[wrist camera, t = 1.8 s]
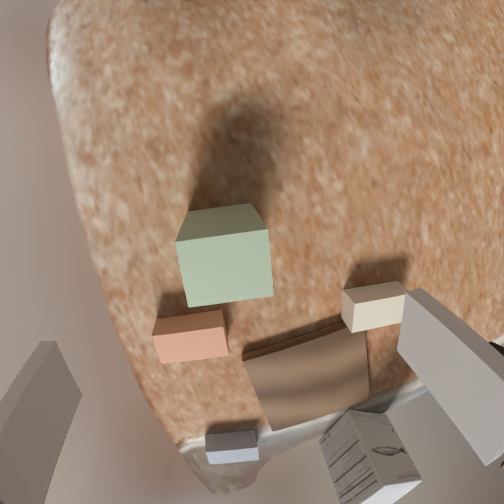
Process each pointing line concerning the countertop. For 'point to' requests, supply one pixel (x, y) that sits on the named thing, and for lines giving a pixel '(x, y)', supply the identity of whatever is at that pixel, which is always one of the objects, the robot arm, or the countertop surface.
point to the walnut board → (309, 375)
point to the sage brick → (224, 255)
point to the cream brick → (373, 306)
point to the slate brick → (231, 447)
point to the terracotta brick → (191, 337)
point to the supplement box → (368, 460)
